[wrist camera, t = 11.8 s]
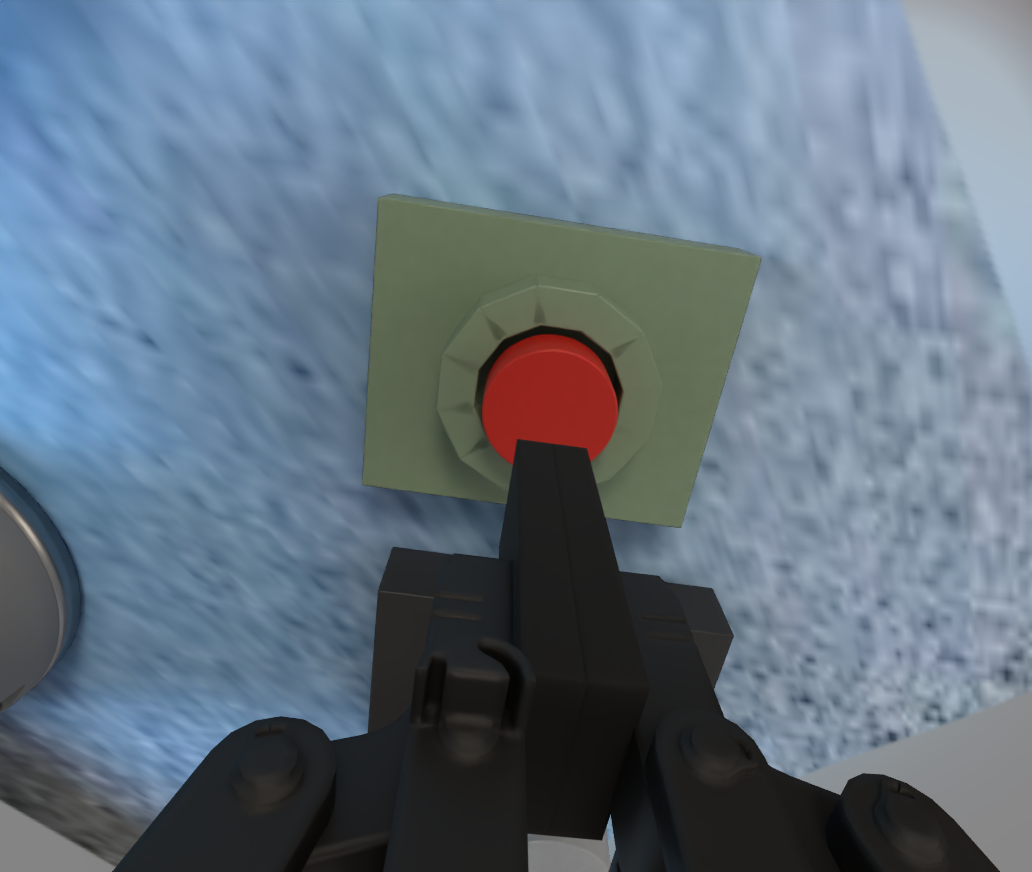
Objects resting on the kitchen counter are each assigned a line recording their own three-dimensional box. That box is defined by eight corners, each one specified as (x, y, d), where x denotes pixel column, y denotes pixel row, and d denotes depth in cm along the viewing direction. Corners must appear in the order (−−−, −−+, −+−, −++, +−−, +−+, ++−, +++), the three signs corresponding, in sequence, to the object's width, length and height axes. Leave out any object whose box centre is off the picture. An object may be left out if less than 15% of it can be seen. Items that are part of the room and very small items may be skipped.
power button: (477, 442, 20) (473, 466, 19) (493, 324, 19) (491, 339, 17) (596, 459, 21) (602, 484, 19) (622, 343, 19) (632, 360, 18)
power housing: (374, 459, 25) (349, 510, 21) (391, 193, 21) (363, 199, 17) (668, 499, 25) (693, 556, 22) (740, 248, 21) (785, 266, 18)
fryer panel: (378, 716, 30) (363, 774, 28) (392, 546, 26) (376, 593, 24) (658, 749, 31) (672, 809, 28) (713, 588, 27) (735, 638, 24)
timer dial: (479, 740, 27) (465, 932, 20) (492, 662, 25) (481, 845, 18) (580, 751, 27) (599, 945, 20) (599, 675, 25) (627, 860, 19)
